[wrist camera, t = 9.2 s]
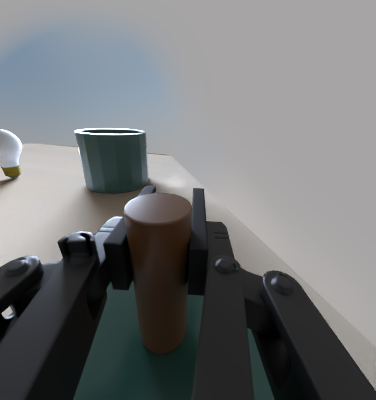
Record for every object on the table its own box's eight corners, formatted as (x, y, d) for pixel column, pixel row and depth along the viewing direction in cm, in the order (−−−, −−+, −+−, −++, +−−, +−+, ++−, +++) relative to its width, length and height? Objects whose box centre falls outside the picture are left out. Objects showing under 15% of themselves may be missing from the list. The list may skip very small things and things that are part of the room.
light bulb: (35, 172, 43) (20, 127, 38) (28, 180, 38) (10, 130, 34) (2, 175, 40) (-18, 127, 36) (-10, 183, 36) (-35, 129, 31)
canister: (156, 176, 44) (155, 130, 39) (130, 196, 33) (124, 136, 28) (110, 171, 46) (104, 127, 42) (71, 188, 35) (57, 131, 31)
